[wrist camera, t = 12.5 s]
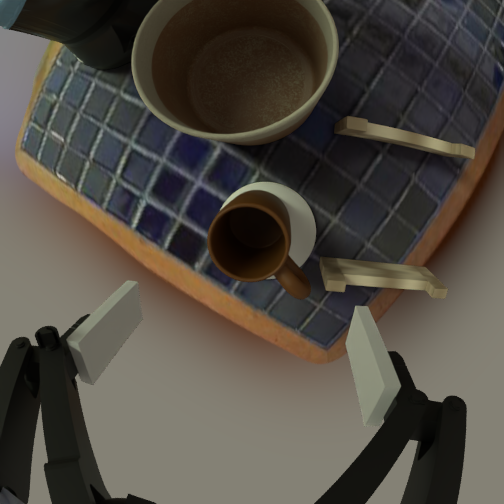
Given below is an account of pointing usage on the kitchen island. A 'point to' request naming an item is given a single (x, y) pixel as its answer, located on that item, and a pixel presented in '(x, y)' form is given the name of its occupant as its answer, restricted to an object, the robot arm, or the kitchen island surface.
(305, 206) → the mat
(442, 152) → the rack
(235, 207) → the mug
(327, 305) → the kitchen island surface
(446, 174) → the kitchen island surface
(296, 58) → the planter
